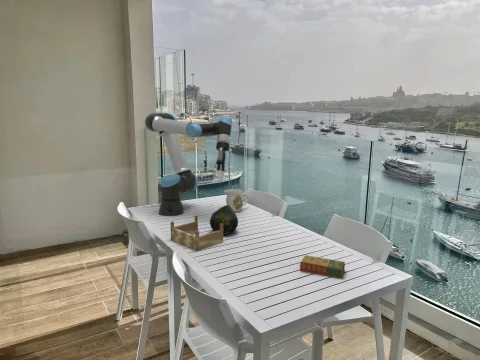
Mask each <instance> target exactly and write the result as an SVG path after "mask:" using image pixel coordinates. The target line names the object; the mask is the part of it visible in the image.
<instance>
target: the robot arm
mask: <svg viewBox="0 0 480 360" xmlns="http://www.w3.org/2000/svg"><path fill="white" fill-rule="evenodd" d="M232 122H233V121H232V118H230V117H229V116H224V115H223V116H220V117H219V119H218V121H217V122H210V123H209V122H207V123H195V122H189V121H182V120H178V118H177V117H176V116H175V115H174V114H172V113H169V112H168V113H167V112H164V113H163V112H162V113H161V112H154V113H153V112H152V113H150V114H148V115H147V116H146V117H145V120H144V125H145V127H146V129H147V130H149V131H150V132H154V133H155V132H158V135H159V136H160V137H161V138H163V141H164V144H165V147H166V150H167V152H168V155H169V159H170V162H171V165H172V168H173V170H174V173H171V174H166V175H164V176H162V177H161V179H160V192H161V193H160V194H161V196H160V197H161V201H160V206H159V209H158V213H159V215H161V216H166V217H168V216H169V217H173V216H179V215H182V214H183V213H184V212H185V211H184V210H185V209H184V206H183V202H182V201H181V198H182V197H181V195H182V194H186V193H191V192H193V191H195V190H197V188H198V185H199V179H198V176H197V175H196V174H195V173H193V172H192V169H191V168H189V167H188V165H187V161H186V160H185V155H184V154H183V150H182V147H181V145H180V142H179V139H178V136H177V135H185V136H189V137H190V138H199V137H200V138H201V137H205V138H208V137H209V138H210V137H214V136H216V146H215V149H216V150H217V151H218V152H217V159H216V161H215V165H216V166H215V167H216V169H215V177H218V178H217V179H218V180H217V182H218V183H223V182H224V174H225V172H226V169H225V167H226V166H225V164H226V157H227V154H226V152H228V151H229V150H230V142H231V140H232V137H231V133H232V127H233V125H232V124H233V123H232Z"/></svg>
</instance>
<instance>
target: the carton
mask: <svg viewBox="0 0 480 360" xmlns="http://www.w3.org/2000/svg"><path fill="white" fill-rule="evenodd" d="M345 264H346V263H345V261H341V260H335V259H329V258H323V257H320V256H319V257H318V256H313V255H308V254H307V255H306V254H305V255H304V256H303V257H302V259H301V261H300V264H299V271H300V272H303V273H307V274H308V273H310V274H314V275H318V276H319V275H320V276H326V277H329V278H335V279H340V280H341V279H343V276H344V273H345V269H346V267H345V266H346V265H345Z"/></svg>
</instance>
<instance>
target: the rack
mask: <svg viewBox="0 0 480 360" xmlns="http://www.w3.org/2000/svg"><path fill="white" fill-rule="evenodd" d="M169 225H170V240H172V241H174V242H175V243H178V244H180V245H183V246H185V247H188V248H190V249H193V250H195V251H201V250H204V249H207V248H210V247H212V246H216V245H219V244H221V243H224V234H223V224H222V223H221V224H220V230H218V231H212V232H209V233H206V234H203V235H200V231H199V216H198V215H197V214H196V215H194V221H192V222H187V223H183V224H181V225H180V224H179V225H176V226H175V222H174V221H170V223H169Z"/></svg>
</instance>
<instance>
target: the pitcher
mask: <svg viewBox="0 0 480 360" xmlns="http://www.w3.org/2000/svg"><path fill="white" fill-rule="evenodd" d="M223 192H224V193H225V194H226V197H225V203H226V204H225V205H229V206H230V207H231V209H232V210H233V211H234V212H235V213H239V212H241V210H242V209H243V207H244V206H245V205H246V204H247V203H248V201H249V195H248V193H247V192H244V191H243V190H242V189H237V188H232V189H225V190H223ZM244 196H245V198H246V199H245V201H244Z"/></svg>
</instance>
